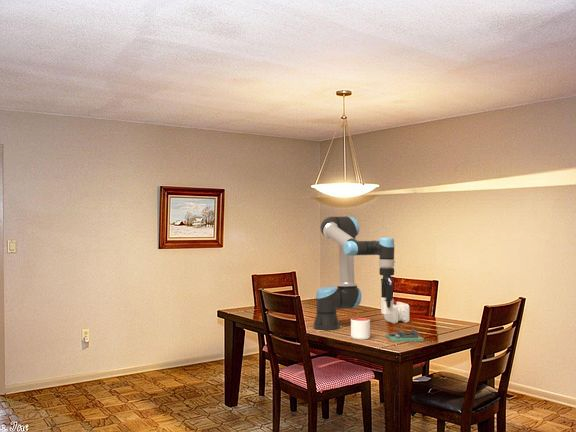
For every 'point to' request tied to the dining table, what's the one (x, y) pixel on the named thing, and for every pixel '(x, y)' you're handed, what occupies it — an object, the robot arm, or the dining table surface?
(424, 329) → the dining table surface
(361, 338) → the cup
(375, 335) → the dining table surface
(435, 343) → the dining table surface
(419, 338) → the board
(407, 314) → the cable organizer
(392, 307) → the plug
